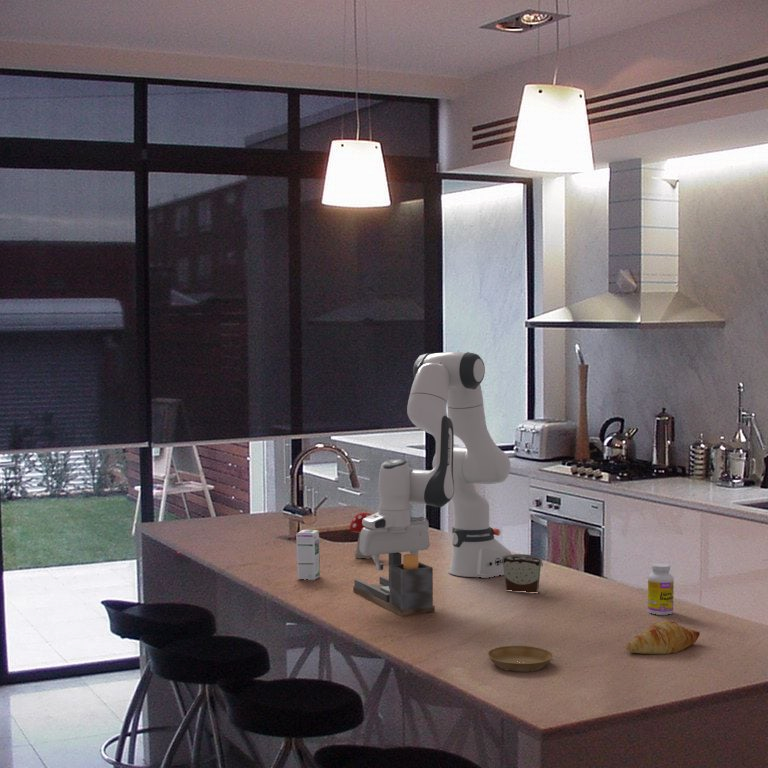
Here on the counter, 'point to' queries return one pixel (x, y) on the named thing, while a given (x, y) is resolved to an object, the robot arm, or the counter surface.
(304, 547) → the syrup box
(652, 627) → the croissant
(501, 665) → the plant saucer
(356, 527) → the decorative mushroom
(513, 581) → the food container
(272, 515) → the counter surface
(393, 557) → the carriage
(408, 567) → the button
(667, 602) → the supplement bottle
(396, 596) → the rail
